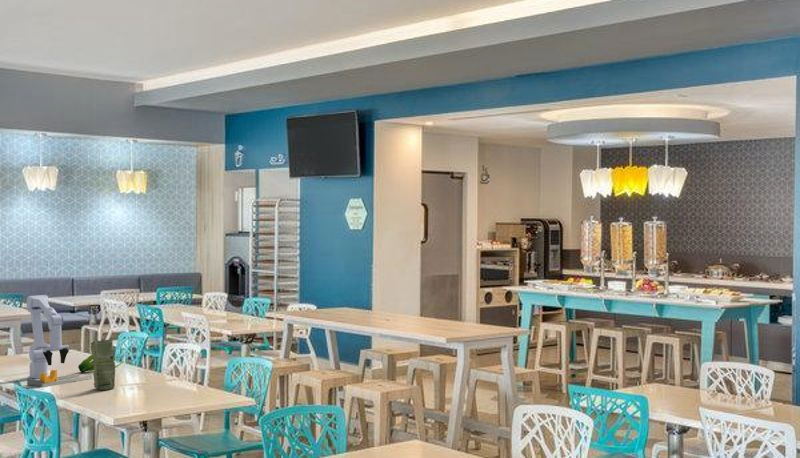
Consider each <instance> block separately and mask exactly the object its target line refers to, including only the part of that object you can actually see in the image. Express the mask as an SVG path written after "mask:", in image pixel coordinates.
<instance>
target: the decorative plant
mask: <svg viewBox="0 0 800 458" xmlns="http://www.w3.org/2000/svg"><path fill="white" fill-rule="evenodd" d="M117 349H119V346H117V347H114V348H113V347H112V350H117ZM122 354H124V352H123V353H118V354H117V355H115V356H113V357H114V359H115V358H117V357H118V356H120V355H122ZM127 362H128V363H129V361H127V360H126V361H121V362H120V363H119V364H115V368H118V367H119V366H121V365H122V364H124V363H127ZM92 365H93V359H92V354H90V355H89V356H87V358H85V359H84V360H82V362H80V364H78V366H77V369H79V372H80V373H81V374H83V373H85V372H93V371H94V368H93V366H92Z"/></svg>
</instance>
